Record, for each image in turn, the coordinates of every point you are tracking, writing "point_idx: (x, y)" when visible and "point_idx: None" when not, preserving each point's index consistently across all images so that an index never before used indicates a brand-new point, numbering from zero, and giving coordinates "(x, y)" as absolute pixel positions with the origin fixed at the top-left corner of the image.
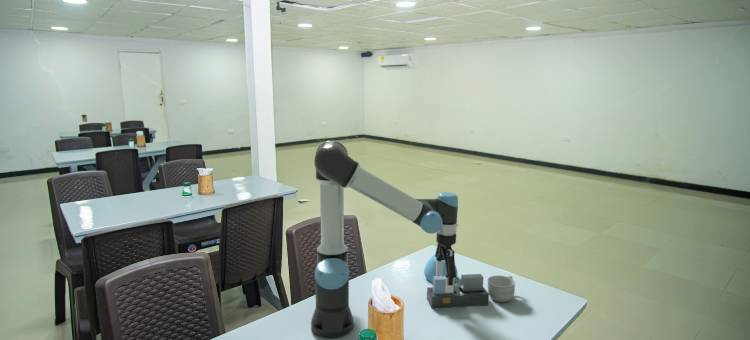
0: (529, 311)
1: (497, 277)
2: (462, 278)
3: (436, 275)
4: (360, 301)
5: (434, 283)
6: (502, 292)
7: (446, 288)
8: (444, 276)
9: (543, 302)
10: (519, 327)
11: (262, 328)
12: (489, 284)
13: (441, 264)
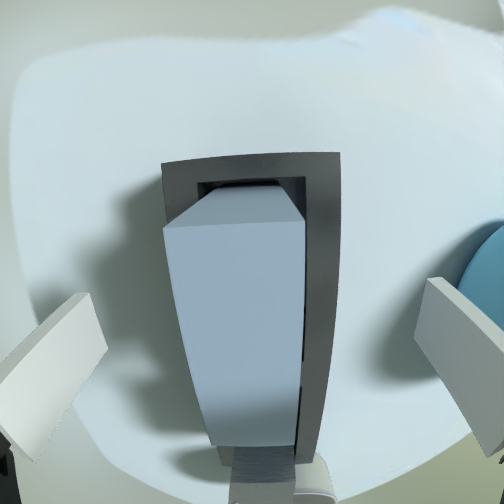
0: (198, 476)
1: (330, 501)
2: (265, 467)
3: (432, 284)
4: None
5: (199, 211)
6: (230, 489)
7: (54, 315)
8: (278, 384)
9: None
10: (107, 431)
11: None
12: None
13: (483, 413)
